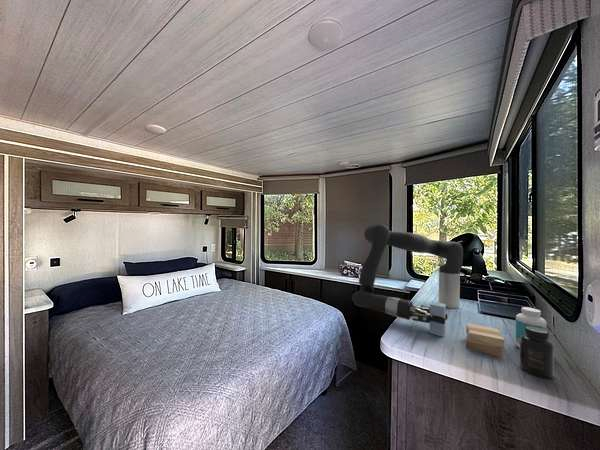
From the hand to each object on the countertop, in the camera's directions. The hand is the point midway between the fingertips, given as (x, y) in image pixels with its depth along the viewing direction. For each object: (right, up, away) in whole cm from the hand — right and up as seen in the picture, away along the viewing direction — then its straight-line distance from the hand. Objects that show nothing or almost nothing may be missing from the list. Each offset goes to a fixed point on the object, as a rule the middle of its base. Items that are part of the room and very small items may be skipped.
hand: (445, 319), depth 87 cm
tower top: (+8, -4, -7) cm, 12 cm away
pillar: (-2, -6, +2) cm, 7 cm away
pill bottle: (+23, -7, -8) cm, 26 cm away
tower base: (+8, -7, -7) cm, 13 cm away
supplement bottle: (+13, -7, -20) cm, 25 cm away
